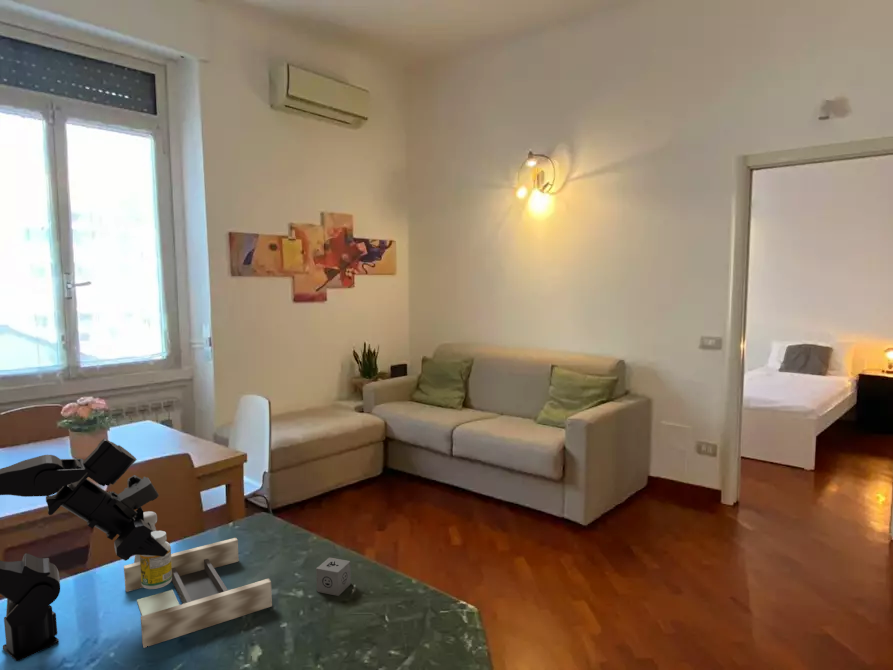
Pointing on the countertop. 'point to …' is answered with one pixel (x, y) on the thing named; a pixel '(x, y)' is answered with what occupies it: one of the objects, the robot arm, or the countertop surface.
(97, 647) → the countertop surface
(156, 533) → the supplement bottle
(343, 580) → the dice cube
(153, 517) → the salt shaker
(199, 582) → the walled lane
